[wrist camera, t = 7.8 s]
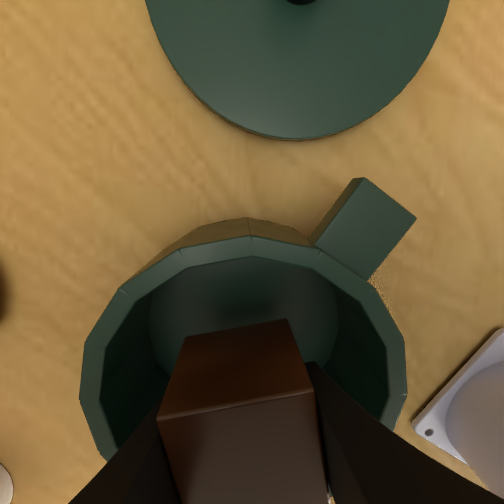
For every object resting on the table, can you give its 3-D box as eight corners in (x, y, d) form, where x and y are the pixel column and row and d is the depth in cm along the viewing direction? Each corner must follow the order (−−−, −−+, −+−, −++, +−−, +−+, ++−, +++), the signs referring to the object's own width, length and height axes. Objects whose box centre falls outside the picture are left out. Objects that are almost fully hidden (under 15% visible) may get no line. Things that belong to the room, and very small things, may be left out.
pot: (422, 256, 15) (527, 296, 10) (243, 473, 18) (245, 600, 12) (246, 122, 13) (251, 77, 8) (75, 386, 16) (-12, 492, 10)
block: (287, 316, 11) (314, 389, 7) (301, 404, 12) (332, 511, 8) (184, 336, 11) (153, 420, 7) (206, 422, 12) (190, 538, 8)
